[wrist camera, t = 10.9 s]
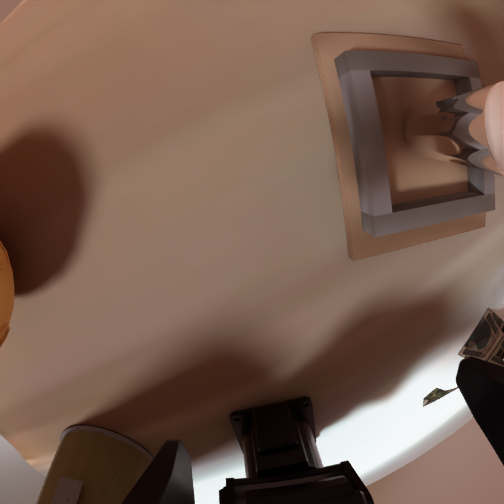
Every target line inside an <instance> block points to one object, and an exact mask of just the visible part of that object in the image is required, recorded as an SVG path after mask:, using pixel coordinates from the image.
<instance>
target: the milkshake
mask: <svg viewBox="0 0 504 504" xmlns="http://www.w3.org/2000/svg"><path fill="white" fill-rule="evenodd" d="M404 136H405V138H406V140H407V142H408V144H409V146H410V148H411V150H413V151H414V152H416V153H418V154H419V155H421V156H423V157H426V158H431V159H436V160H441V161H446V162H451V163H455V164H460V165H464V166H468V167H473V168H477V169H480V170H484V171H487V172H490V173H494V174H497V175H500V176H503V177H504V81H501V82H498V83H494V84H491V85H488V86H485V87H481V88H478V89H475V90H472V91H469V92H466V93H463V94H460V95H457V96H453V97H450V98H447V99H443V100H440V101H436V102H433V103H430V104H427V105H423V106H420V107H417V108H414V109H412V110H411V111H410V113H409V114H408V116H407V117H406V119H405V120H404Z"/></svg>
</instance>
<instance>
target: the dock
mask: <svg viewBox="0 0 504 504" xmlns="http://www.w3.org/2000/svg"><path fill="white" fill-rule="evenodd" d="M311 41H312V45H313V49H314V53H315V57H316V61H317V65H318V69H319V74H320V78H321V83H322V87H323V92H324V96H325V101H326V106H327V111H328V116H329V121H330V126H331V132H332V137H333V143H334V149H335V155H336V161H337V167H338V173H339V180H340V187H341V194H342V202H343V210H344V218H345V227H346V236H347V245H348V256H349V257H350V258H351V259H352V260H353V261H354V260H358V259H362V258H366V257H370V256H375V255H379V254H383V253H387V252H391V251H395V250H399V249H403V248H407V247H411V246H414V245H418V244H422V243H426V242H430V241H434V240H438V239H441V238H445V237H449V236H453V235H456V234H460V233H464V232H467V231H471V230H475V229H478V228H482V227H485V212H487V211H492V210H495V185H494V173H490V172H487V171H484V170H480V169H477V168H473V167H468V166H464V165H460V164H455V163H451V162H446V161H441V160H436V159H431V158H426V157H423V156H421V155H419V154H418V153H416V152H414V151H413V150H411V148H410V146H409V144H408V142H407V140H406V138H405V136H404V120H405V119H406V117H407V116H408V114H409V113H410V111H411V110H412V109H414V108H417V107H420V106H423V105H427V104H430V103H433V102H436V101H440V100H443V99H447V98H450V97H453V96H457V95H460V94H463V93H466V92H469V91H472V90H475V89H478V88H481V87H482V83H481V79H480V74H479V70H478V66H477V63H476V62H471V61H466V59H465V55H464V51H463V48H462V46H461V45H456V44H451V43H445V42H440V41H434V40H427V39H420V38H412V37H403V36H393V35H380V34H361V33H314V34H313V36H312V37H311Z"/></svg>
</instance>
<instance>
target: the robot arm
mask: <svg viewBox="0 0 504 504" xmlns="http://www.w3.org/2000/svg"><path fill="white" fill-rule="evenodd" d="M456 383H457V386H458V388H459V389H460V391H461V393H462V395H463V397H464V399H465V401H466V403H467V405H468V407H469V409H470V411H471V413H472V415H473V417H474V418H475V420H476V422H477V423H478V425H479V426H480V428H481V429H482V431H483V432H484V434H485V436H486V437H487V439H488V441H489V442H490V444H491V445H492V447H493V449H494V450H495V452H496V454H497V455H498V457H499V459H500V460H501V462H502V464H503V465H504V366H501V365H498V364H495V363H491V362H488V361H485V360H482V359H479V358H476V357H473V356H469V357H467V358H465V359H463V360H461V362H460V364H459V368H458V372H457V376H456ZM304 403H305V404H304ZM235 417H238V418H235ZM230 421H231V424H232V426H233V429H234V432H235V434H236V437H237V439H238V442H239V444H240V447H241V449H242V452H243V454H244V463H245V472H246V478H241V479H234V478H226V486H225V487H223V489H221V490H219V502H220V504H374V502H373V499H372V497H371V494H370V493H369V491H368V489H367V488H366V486H365V485H364V484H363V482H362V481H361V479H360V478H359V476H358V475H357V473H356V472H355V470H354V469H353V467H352V466H351V464H350V463H349V461H344V462H341V463H340V464H336V465H331V466H326V467H323V465H322V461H321V458H320V455H319V452H318V449H317V446H316V436H315V427H314V417H313V408H312V402H311V400H310V398H308V397H304V398H300V399H296V400H292V401H287V402H283V403H278V404H274V405H269V406H264V407H259V408H254V409H249V410H243V411H238V412H233V413H231V414H230ZM120 504H195V500H194V489H193V479H192V467H191V458H190V455H189V453H188V451H187V449H186V448H185V446H184V444H183V442H182V441H181V440H180V439H169V440H167V441H165V443H164V444H163V445H162V447H161V448H160V450H159V451H158V452H157V454H156V455H155V457H154V458H153V459H152V461H151V462H150V464H149V465H148V466H147V468H146V469H145V471H144V472H143V473H142V475H141V476H140V477H139V479H138V480H137V482H136V483H135V484H134V486H133V487H132V488H131V490H130V491H129V493H128V494H127V495H126V497H125V498H124V499H123V501H122V502H121V503H120Z"/></svg>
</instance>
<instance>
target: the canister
mask: <svg viewBox="0 0 504 504" xmlns="http://www.w3.org/2000/svg"><path fill="white" fill-rule="evenodd" d="M152 459H153V457H152V456H151V455H150V454H149V453H148V452H147V451H146V450H145V449H144V448H143V447H141V446H140V445H138V444H136V443H135V442H133V441H132V440H130V439H129V438H127V437H124V436H122V435H120V434H117V433H115V432H112V431H109V430H107V429H103V428H99V427H94V426H73V427H70V428H67V429H66V430H64V431H63V432H62V434H61V437H60V445H59V447H58V450H57V452H56V454H55V457H54V459H53V462H52V464H51V467H50V469H49V472H48V474H47V477H46V479H45V482H44V485H43V487H42V490H41V492H40V495H39V498H38V501H37V503H36V504H120V503H121V502H122V501H123V499H124V498H125V497H126V495H127V494H128V493H129V491H130V490H131V488H132V487H133V486H134V484H135V483H136V482H137V480H138V479H139V477H140V476H141V475H142V473H143V472H144V471H145V469H146V468H147V466H148V465H149V464H150V462H151V461H152Z"/></svg>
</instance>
